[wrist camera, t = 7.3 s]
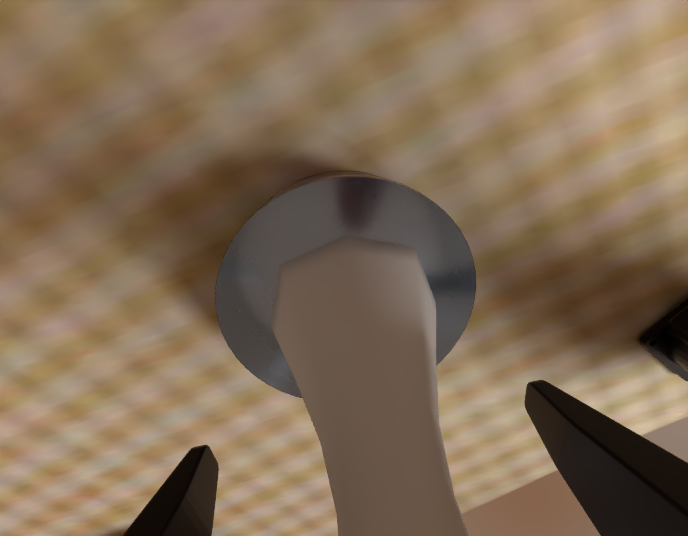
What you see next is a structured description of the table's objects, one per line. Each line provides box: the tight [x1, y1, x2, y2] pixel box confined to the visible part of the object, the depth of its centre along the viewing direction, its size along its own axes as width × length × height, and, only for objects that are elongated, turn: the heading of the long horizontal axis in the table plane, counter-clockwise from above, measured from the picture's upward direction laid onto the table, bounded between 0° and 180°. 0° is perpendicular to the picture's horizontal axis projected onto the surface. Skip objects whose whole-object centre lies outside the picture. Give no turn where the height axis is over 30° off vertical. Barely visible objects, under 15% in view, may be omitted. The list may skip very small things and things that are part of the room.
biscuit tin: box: [215, 171, 476, 398], centre depth 16 cm, size 11×11×4 cm
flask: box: [270, 235, 469, 536], centre depth 10 cm, size 7×7×10 cm
